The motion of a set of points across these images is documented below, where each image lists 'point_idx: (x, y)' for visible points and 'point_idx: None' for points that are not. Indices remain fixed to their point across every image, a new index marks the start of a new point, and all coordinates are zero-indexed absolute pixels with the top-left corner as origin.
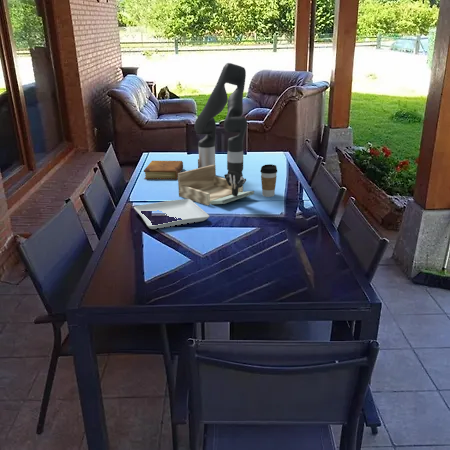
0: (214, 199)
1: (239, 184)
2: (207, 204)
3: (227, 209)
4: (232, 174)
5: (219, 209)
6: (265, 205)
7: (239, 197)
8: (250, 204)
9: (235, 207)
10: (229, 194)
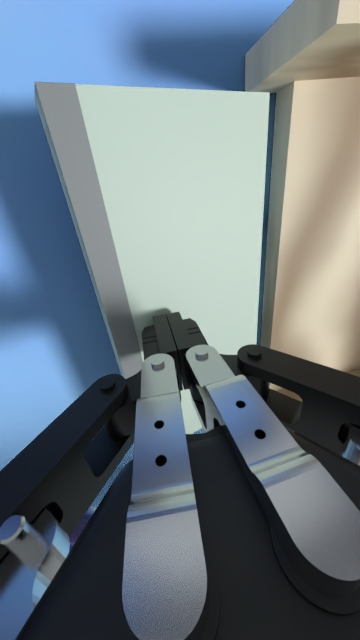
0: (282, 190)
1: (45, 442)
2: (253, 45)
3: (49, 153)
4: (298, 590)
5: (89, 79)
6: (10, 421)
7: (109, 336)
8: (75, 364)
9: (67, 249)
10: (273, 339)
